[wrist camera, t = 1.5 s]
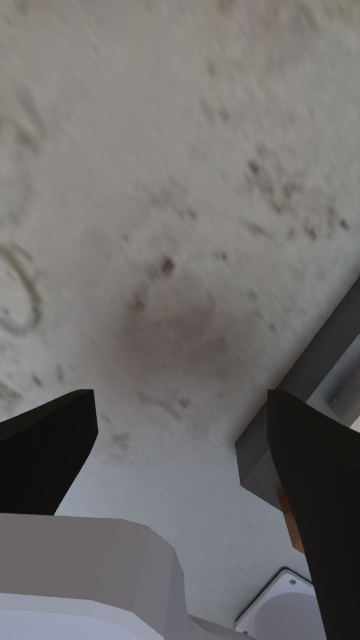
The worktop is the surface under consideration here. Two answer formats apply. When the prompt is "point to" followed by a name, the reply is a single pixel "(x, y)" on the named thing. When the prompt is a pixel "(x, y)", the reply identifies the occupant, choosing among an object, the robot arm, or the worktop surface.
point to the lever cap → (349, 403)
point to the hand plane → (312, 388)
